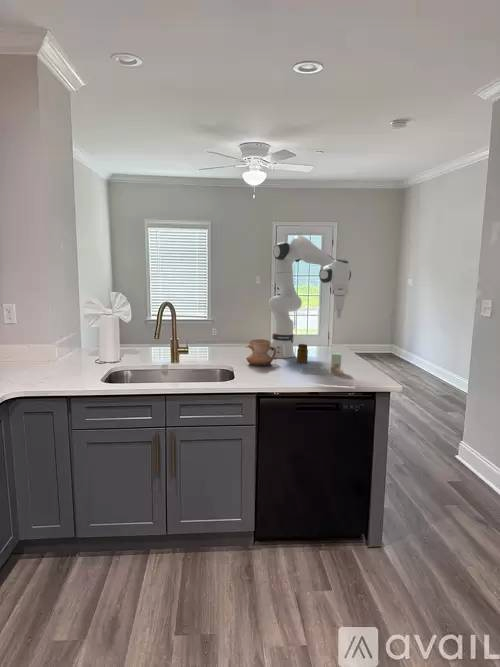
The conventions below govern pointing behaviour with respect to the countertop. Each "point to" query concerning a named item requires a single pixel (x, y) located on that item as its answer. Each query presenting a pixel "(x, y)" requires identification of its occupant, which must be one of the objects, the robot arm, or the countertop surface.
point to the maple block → (335, 368)
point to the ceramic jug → (260, 352)
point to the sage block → (336, 358)
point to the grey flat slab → (320, 372)
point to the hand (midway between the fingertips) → (338, 316)
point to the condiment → (302, 354)
